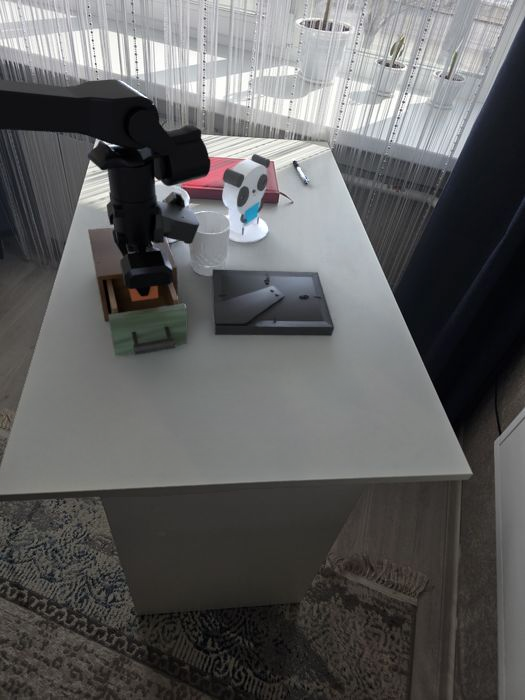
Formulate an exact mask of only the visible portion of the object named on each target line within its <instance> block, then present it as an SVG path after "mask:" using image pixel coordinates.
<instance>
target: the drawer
mask: <svg viewBox="0 0 525 700" xmlns="http://www.w3.org/2000/svg"><path fill="white" fill-rule="evenodd" d="M106 285H107V291H108V297H109V303H110V308H111V313H112V314H108V317H109V321H108V322H109V328H110V333H111V339H112V346H113V352H114V356H115V357H116V356H117V357H118V356H122V355H128V354H134V355H135V356H138V355H143V354H149V353H154V352H155V353H156V352H160V351H167V350H171V349H176V346H183V345H186V344H188V336H187V335H188V331H187V329H188V328H187V327H188V325H187V322H188V321H187V320H188V319H187V317H188V316H187V306H186V304H185V303H179V296H178V297H177V294H176V292H175V289H174V286H173V283H170V284H167V285H160V286H158V298H153V299H146V300H139V301H132V300H131V296H130V292H129V288H127V287H125V283H124V279H123V278H115V279H107V280H106Z"/></svg>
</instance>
